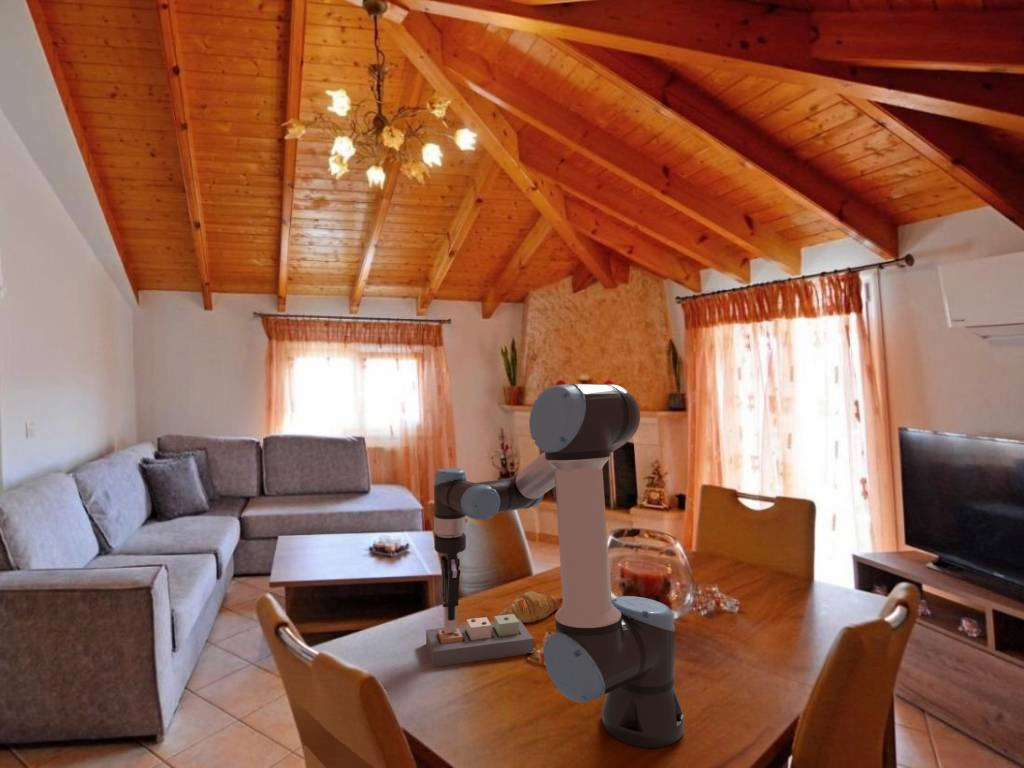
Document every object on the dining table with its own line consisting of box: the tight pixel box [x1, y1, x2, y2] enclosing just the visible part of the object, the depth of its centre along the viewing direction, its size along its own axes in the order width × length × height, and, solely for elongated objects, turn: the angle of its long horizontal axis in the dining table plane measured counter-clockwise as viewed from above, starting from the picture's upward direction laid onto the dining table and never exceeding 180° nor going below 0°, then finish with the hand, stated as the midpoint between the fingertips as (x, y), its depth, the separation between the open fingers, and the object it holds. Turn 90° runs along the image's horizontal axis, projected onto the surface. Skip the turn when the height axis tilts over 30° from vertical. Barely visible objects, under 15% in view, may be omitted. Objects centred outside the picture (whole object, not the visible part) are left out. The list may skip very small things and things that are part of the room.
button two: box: [466, 616, 491, 640], centre depth 142 cm, size 5×5×3 cm
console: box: [425, 619, 534, 668], centre depth 142 cm, size 12×24×4 cm, turn 106°
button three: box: [438, 628, 463, 645], centre depth 140 cm, size 5×5×3 cm
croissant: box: [496, 590, 563, 624], centre depth 162 cm, size 21×10×8 cm
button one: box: [493, 614, 519, 637], centre depth 144 cm, size 5×5×3 cm
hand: (450, 631), depth 140 cm, fingers closed
